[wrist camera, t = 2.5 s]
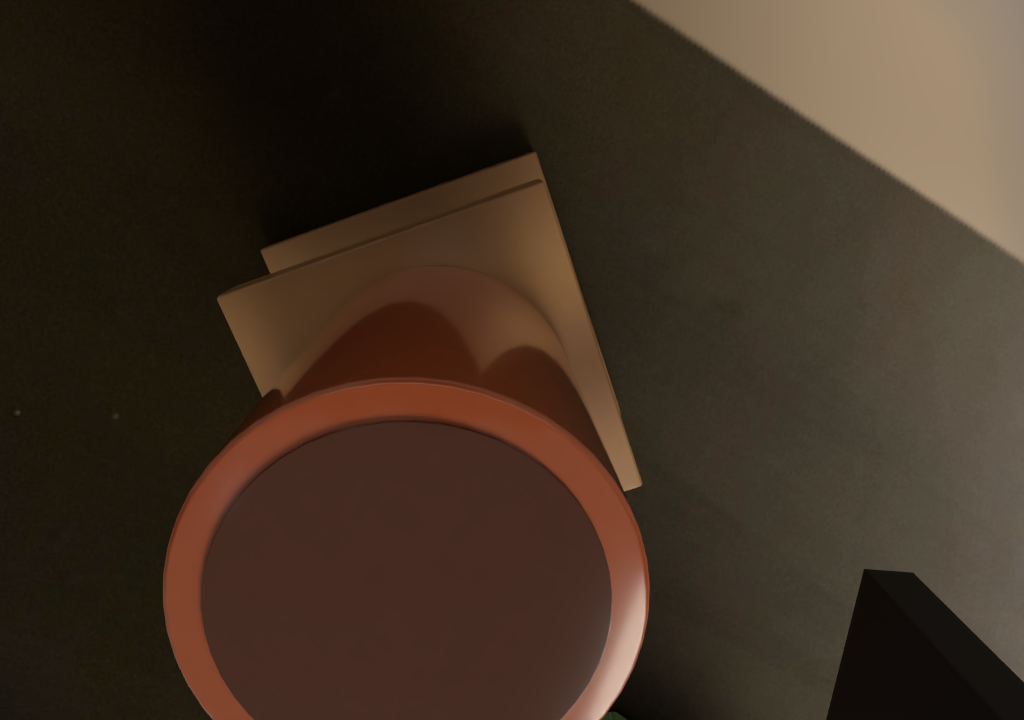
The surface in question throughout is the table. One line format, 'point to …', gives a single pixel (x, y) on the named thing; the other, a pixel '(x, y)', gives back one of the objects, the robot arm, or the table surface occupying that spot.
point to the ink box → (613, 716)
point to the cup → (412, 525)
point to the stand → (423, 242)
